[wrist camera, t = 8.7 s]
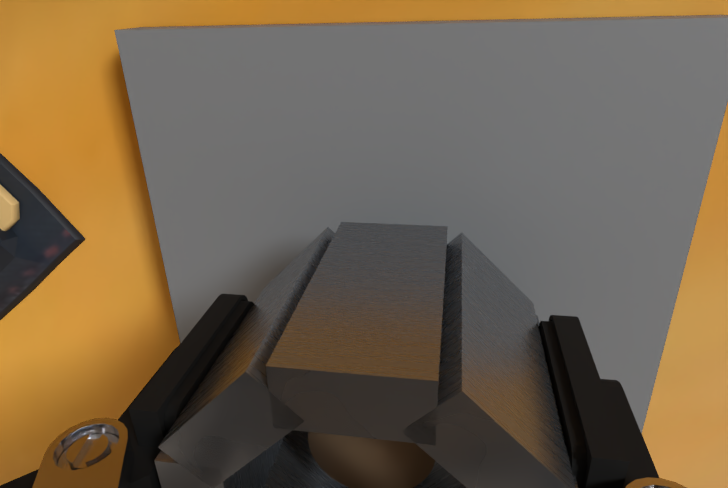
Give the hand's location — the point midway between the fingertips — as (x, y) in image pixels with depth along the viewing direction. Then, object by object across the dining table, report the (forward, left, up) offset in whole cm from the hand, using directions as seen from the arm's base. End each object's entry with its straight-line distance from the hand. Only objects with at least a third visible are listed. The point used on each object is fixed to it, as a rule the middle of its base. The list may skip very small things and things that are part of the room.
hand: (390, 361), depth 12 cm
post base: (0, 0, -4) cm, 4 cm away
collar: (0, 0, -1) cm, 1 cm away
